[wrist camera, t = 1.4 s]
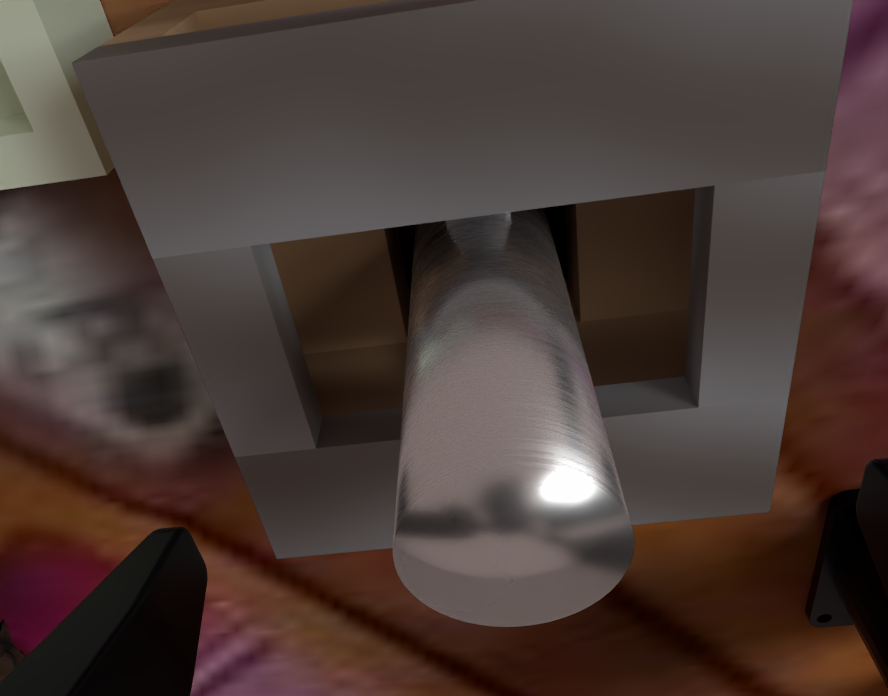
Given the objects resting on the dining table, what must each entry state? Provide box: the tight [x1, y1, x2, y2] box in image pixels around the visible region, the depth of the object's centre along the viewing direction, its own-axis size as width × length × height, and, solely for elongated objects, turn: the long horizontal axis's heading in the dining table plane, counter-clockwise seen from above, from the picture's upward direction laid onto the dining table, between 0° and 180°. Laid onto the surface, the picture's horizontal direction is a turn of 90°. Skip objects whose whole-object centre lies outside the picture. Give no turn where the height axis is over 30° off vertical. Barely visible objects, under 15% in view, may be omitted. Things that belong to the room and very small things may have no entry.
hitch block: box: [72, 0, 853, 559], centre depth 15 cm, size 11×11×5 cm
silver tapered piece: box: [393, 208, 634, 627], centre depth 13 cm, size 6×3×10 cm, turn 8°
